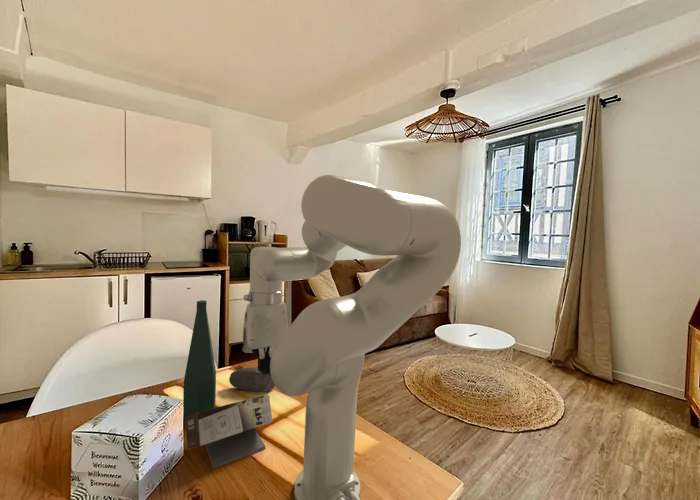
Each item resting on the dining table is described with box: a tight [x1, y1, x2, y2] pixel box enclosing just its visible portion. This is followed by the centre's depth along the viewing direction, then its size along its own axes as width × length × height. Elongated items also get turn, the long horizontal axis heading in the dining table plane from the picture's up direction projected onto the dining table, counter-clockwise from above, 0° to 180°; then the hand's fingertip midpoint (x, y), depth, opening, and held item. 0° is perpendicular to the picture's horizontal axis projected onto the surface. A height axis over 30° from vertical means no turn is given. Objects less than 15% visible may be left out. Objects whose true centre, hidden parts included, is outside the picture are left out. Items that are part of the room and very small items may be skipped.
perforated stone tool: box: [228, 366, 276, 393], centre depth 96 cm, size 15×5×7 cm, turn 86°
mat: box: [204, 428, 267, 469], centre depth 74 cm, size 16×11×1 cm
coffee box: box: [184, 394, 273, 449], centre depth 71 cm, size 9×6×16 cm
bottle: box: [182, 300, 217, 422], centre depth 81 cm, size 8×8×30 cm
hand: (264, 372), depth 77 cm, fingers closed
